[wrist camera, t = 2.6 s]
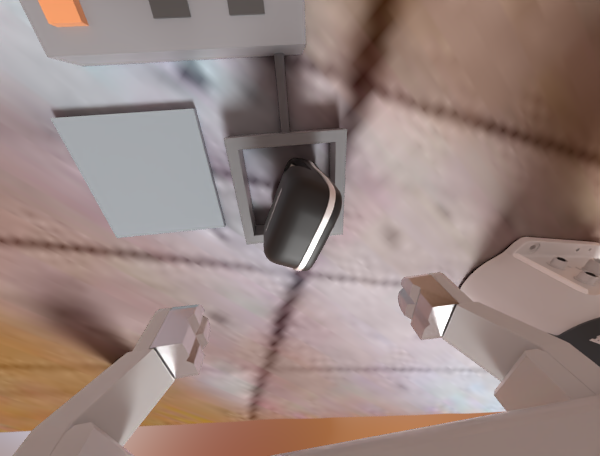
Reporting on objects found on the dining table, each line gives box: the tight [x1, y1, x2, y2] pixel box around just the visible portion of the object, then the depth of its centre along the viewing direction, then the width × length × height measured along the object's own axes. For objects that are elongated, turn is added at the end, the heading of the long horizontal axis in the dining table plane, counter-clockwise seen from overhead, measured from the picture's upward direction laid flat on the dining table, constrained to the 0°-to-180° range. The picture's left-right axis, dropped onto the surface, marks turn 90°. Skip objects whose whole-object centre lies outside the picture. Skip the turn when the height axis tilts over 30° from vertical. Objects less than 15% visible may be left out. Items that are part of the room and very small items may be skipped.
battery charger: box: [264, 158, 342, 271], centre depth 18 cm, size 7×4×11 cm, turn 158°
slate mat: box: [51, 109, 226, 238], centre depth 21 cm, size 12×12×1 cm
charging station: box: [19, 0, 347, 244], centre depth 19 cm, size 22×22×4 cm
